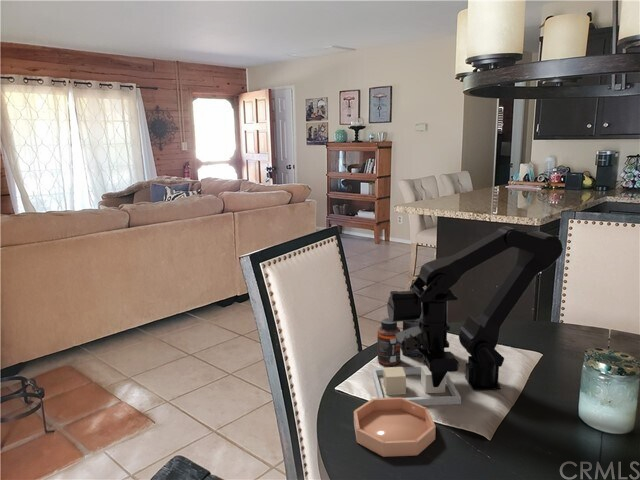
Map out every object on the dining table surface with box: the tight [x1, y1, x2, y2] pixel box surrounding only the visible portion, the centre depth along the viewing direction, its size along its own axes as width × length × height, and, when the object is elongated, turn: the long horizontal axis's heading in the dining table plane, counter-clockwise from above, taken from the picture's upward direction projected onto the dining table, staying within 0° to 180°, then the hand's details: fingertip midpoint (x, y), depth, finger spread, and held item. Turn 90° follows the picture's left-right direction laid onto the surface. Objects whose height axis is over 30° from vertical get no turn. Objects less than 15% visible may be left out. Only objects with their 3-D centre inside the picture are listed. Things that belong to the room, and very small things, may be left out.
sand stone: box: [382, 366, 407, 396], centre depth 110 cm, size 4×4×4 cm
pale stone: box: [420, 365, 446, 394], centre depth 110 cm, size 4×4×4 cm
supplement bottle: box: [376, 317, 401, 366], centre depth 123 cm, size 6×6×11 cm
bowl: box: [353, 397, 437, 458], centre depth 94 cm, size 15×15×3 cm
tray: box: [371, 366, 462, 406], centre depth 110 cm, size 18×15×2 cm
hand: (432, 381), depth 110 cm, fingers closed on pale stone, 4 cm apart
